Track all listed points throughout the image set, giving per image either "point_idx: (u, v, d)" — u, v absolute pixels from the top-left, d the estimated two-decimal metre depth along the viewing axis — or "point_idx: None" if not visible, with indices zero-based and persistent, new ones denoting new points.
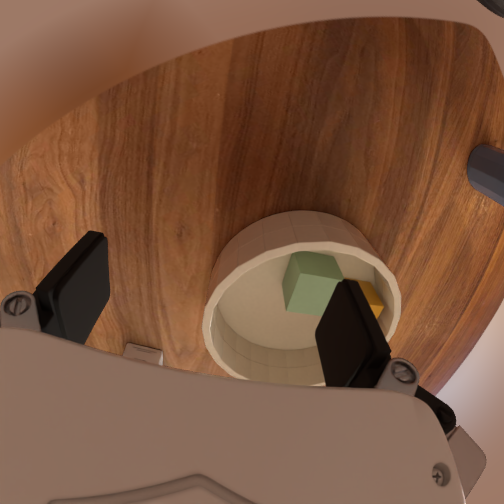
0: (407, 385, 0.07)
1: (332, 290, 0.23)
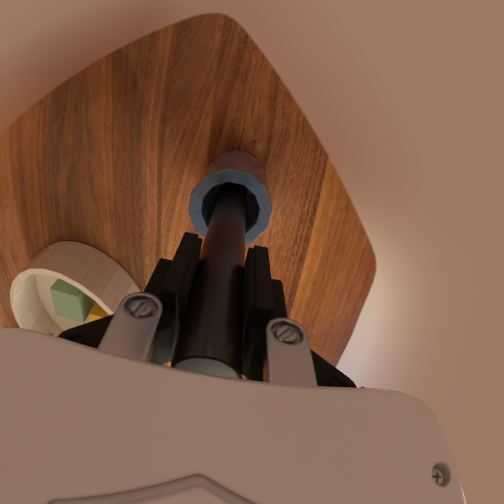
0: (298, 345, 0.07)
1: (73, 303, 0.27)
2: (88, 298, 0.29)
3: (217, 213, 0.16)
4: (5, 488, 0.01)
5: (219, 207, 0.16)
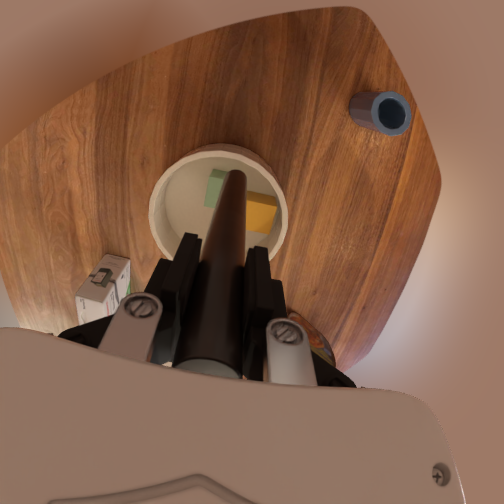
0: (298, 344, 0.07)
1: None
2: None
3: (217, 213, 0.16)
4: (5, 488, 0.01)
5: (219, 207, 0.16)
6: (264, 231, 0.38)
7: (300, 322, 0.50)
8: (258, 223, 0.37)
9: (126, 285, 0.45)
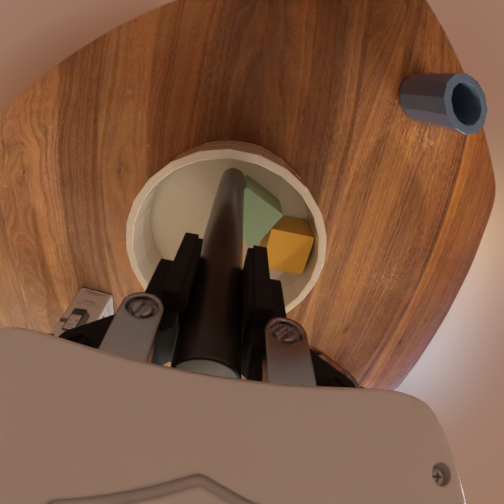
0: (297, 344, 0.07)
1: (268, 219, 0.25)
2: None
3: (214, 213, 0.16)
4: (5, 488, 0.01)
5: (216, 207, 0.16)
6: (295, 270, 0.27)
7: None
8: (287, 259, 0.27)
9: None
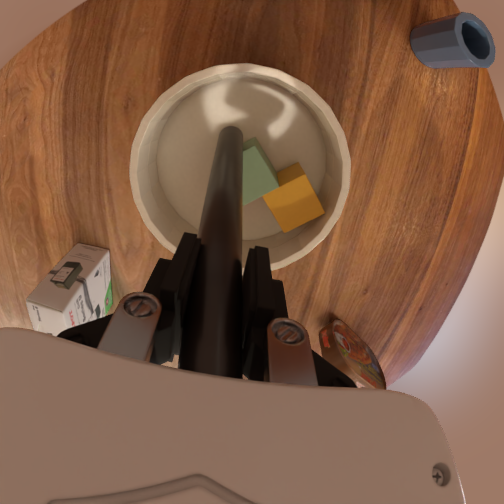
0: (299, 345, 0.07)
1: (262, 185, 0.23)
2: None
3: (205, 196, 0.15)
4: (5, 488, 0.01)
5: (207, 187, 0.15)
6: (316, 214, 0.24)
7: (345, 332, 0.36)
8: (300, 210, 0.24)
9: (104, 286, 0.31)
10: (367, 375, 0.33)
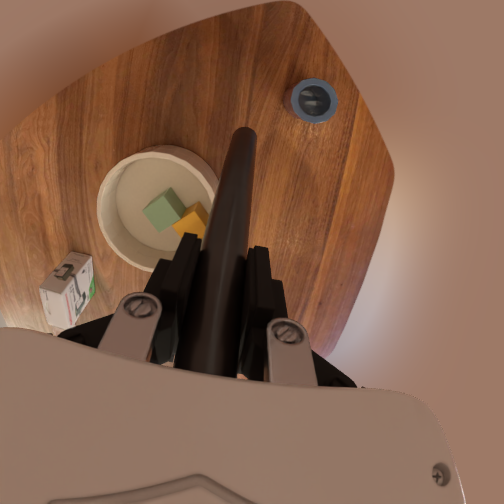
0: (299, 344, 0.07)
1: (171, 218, 0.38)
2: None
3: (214, 197, 0.15)
4: (5, 488, 0.01)
5: (217, 188, 0.16)
6: None
7: None
8: (195, 232, 0.39)
9: (89, 280, 0.46)
10: None
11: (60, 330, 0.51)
